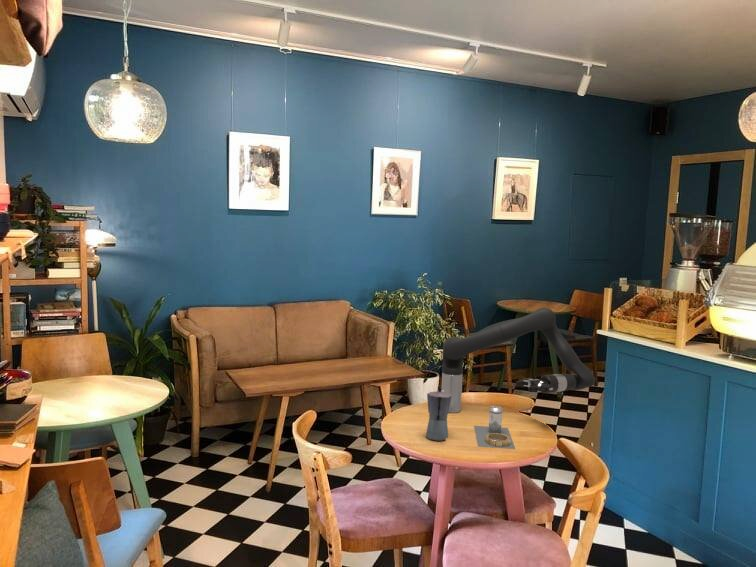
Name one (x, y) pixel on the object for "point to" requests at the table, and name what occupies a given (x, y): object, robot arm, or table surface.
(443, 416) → the moka pot
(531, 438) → the table surface
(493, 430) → the silver metal cylinder
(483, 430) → the mat
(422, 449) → the table surface
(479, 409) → the table surface
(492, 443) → the ring collar
